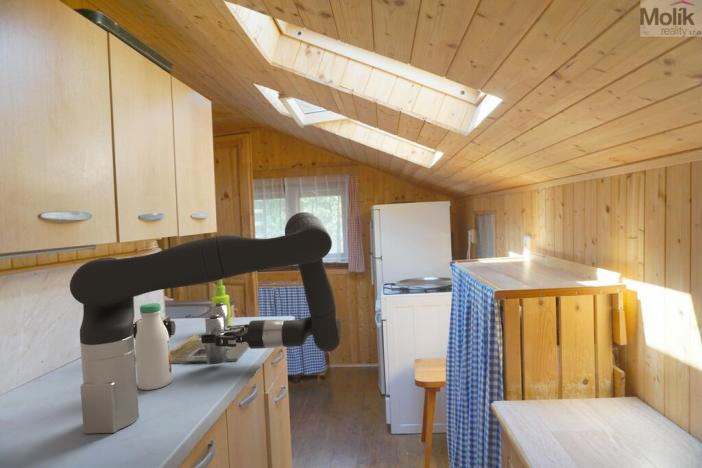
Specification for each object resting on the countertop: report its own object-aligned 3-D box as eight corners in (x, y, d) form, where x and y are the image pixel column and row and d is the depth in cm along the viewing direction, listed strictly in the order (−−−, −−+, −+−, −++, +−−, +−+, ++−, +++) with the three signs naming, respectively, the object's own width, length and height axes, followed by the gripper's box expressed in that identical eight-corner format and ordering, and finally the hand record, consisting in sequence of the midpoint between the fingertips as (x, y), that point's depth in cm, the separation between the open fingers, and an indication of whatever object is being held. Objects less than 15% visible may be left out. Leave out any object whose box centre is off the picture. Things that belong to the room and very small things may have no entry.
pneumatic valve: (172, 355, 125) (170, 316, 124) (131, 358, 123) (129, 319, 123) (178, 349, 130) (175, 312, 130) (139, 353, 129) (136, 314, 128)
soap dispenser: (208, 334, 147) (204, 278, 146) (224, 329, 153) (221, 275, 152) (218, 336, 144) (215, 279, 143) (234, 331, 149) (231, 276, 149)
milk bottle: (167, 389, 99) (162, 306, 98) (133, 392, 98) (127, 309, 97) (175, 377, 107) (170, 300, 106) (143, 380, 106) (138, 302, 105)
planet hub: (222, 364, 110) (220, 316, 110) (204, 364, 111) (202, 317, 110) (228, 358, 115) (225, 312, 115) (211, 358, 115) (208, 313, 115)
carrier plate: (236, 361, 116) (233, 314, 116) (166, 364, 117) (163, 316, 116) (255, 340, 137) (252, 299, 136) (195, 342, 137) (193, 302, 137)
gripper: (272, 314, 119) (214, 316, 120) (260, 327, 105) (194, 329, 105) (273, 340, 120) (215, 342, 120) (261, 356, 105) (195, 358, 106)
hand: (205, 336), depth 113 cm, fingers closed on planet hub, 4 cm apart
